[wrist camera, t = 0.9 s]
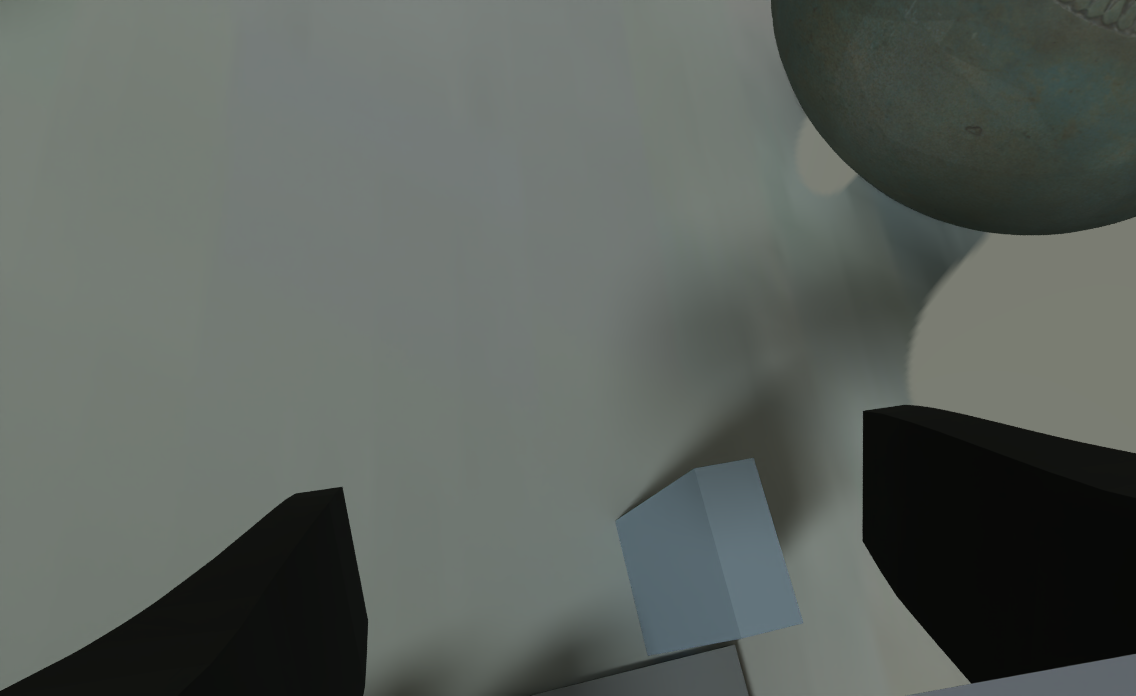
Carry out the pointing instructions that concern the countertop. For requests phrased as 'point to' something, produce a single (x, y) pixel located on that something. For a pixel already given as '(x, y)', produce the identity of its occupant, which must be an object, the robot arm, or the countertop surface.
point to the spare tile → (707, 561)
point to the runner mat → (670, 678)
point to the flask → (975, 104)
